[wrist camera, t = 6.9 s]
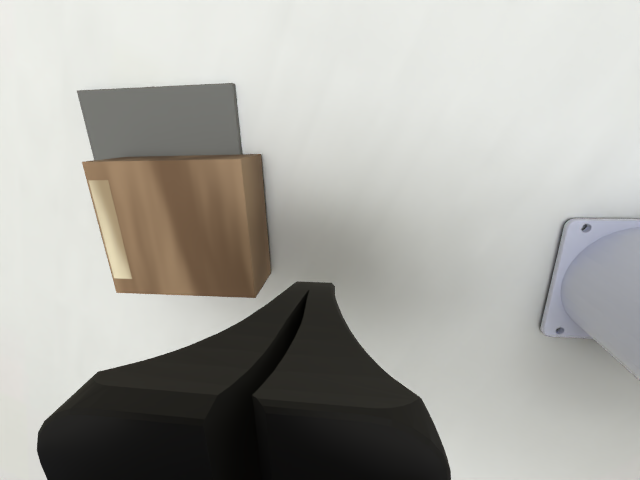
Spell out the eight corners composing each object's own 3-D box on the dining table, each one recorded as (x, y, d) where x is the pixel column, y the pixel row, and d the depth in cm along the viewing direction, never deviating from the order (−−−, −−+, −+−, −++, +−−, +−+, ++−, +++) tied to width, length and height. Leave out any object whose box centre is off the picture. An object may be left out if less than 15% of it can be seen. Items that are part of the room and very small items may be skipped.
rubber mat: (234, 84, 19) (232, 83, 18) (254, 269, 23) (252, 272, 22) (82, 91, 20) (76, 90, 20) (125, 266, 24) (121, 268, 24)
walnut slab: (240, 159, 16) (81, 162, 17) (255, 297, 19) (116, 292, 20) (261, 154, 20) (126, 156, 21) (270, 272, 22) (151, 269, 23)
